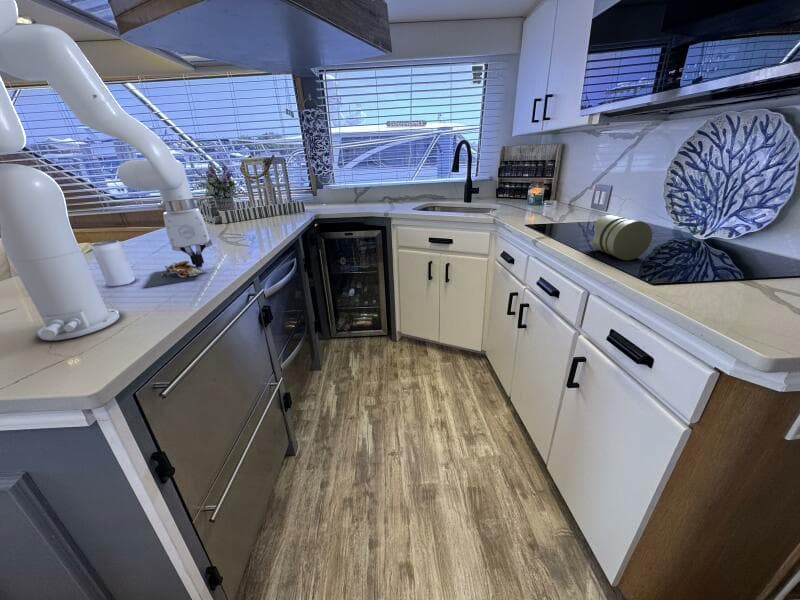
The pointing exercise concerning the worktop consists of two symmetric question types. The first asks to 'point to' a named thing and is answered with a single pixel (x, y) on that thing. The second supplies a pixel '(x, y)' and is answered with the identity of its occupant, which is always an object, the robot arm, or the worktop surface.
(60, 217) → the robot arm
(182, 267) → the pastry
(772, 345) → the worktop surface
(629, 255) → the piston
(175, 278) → the slate mat
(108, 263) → the can
